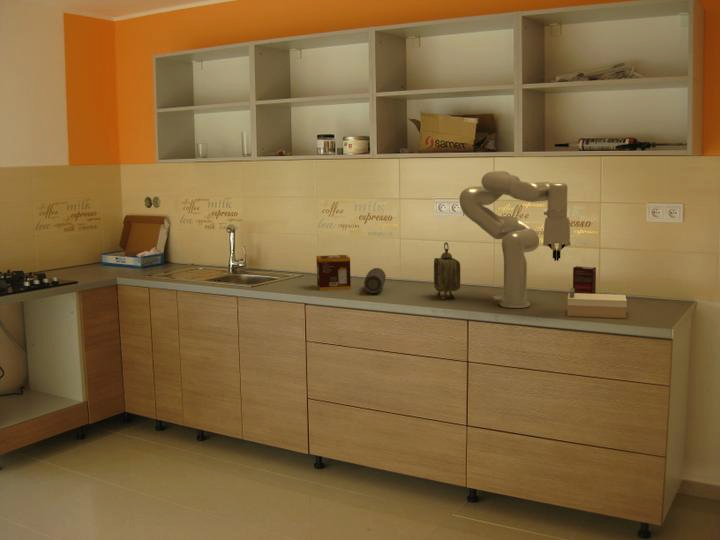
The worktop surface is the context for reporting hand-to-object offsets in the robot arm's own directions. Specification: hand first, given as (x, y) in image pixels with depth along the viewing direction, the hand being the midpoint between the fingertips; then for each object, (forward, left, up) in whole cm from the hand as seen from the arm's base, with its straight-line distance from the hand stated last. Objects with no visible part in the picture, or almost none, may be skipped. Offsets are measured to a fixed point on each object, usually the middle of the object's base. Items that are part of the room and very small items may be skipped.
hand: (556, 260), depth 318 cm
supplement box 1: (-106, +37, -22) cm, 115 cm away
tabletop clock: (-48, +23, -22) cm, 58 cm away
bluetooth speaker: (-84, +33, -22) cm, 93 cm away
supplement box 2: (+11, +20, -22) cm, 31 cm away
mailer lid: (+16, 0, -17) cm, 23 cm away
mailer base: (+16, 0, -21) cm, 27 cm away
